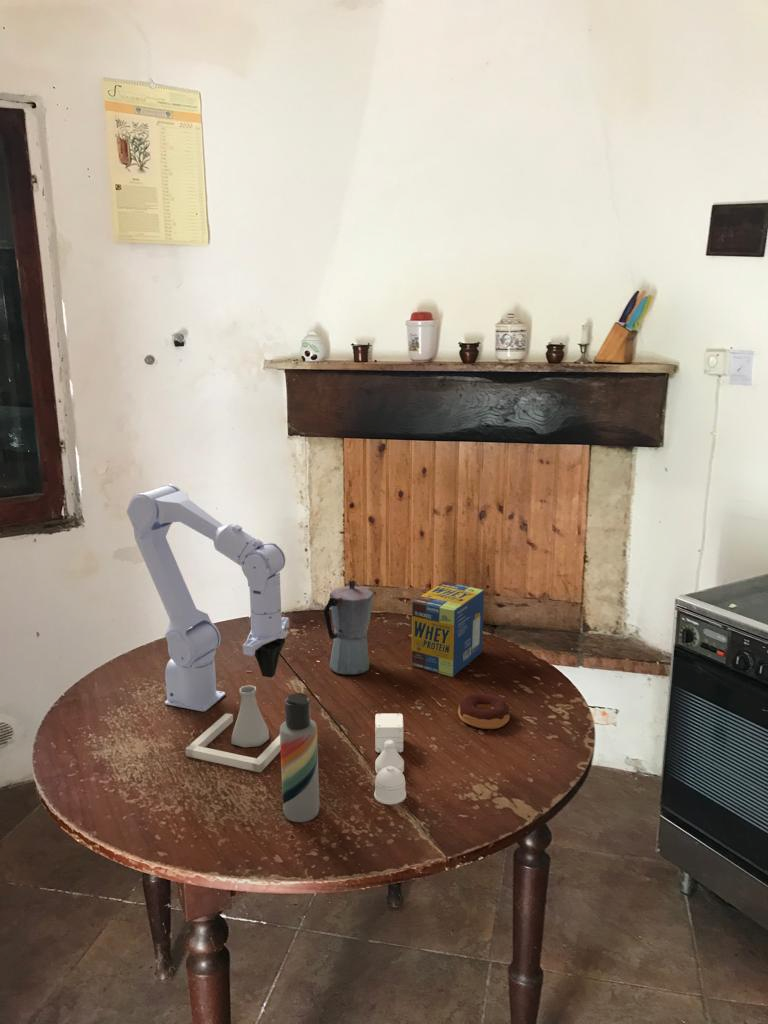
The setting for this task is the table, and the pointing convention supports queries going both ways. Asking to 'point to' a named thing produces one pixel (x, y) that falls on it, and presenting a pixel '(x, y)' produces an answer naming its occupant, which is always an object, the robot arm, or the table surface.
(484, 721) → the donut
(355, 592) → the moka pot
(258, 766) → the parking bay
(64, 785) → the table surface
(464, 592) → the protein box
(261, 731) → the flask
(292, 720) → the lotion bottle
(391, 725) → the container set
